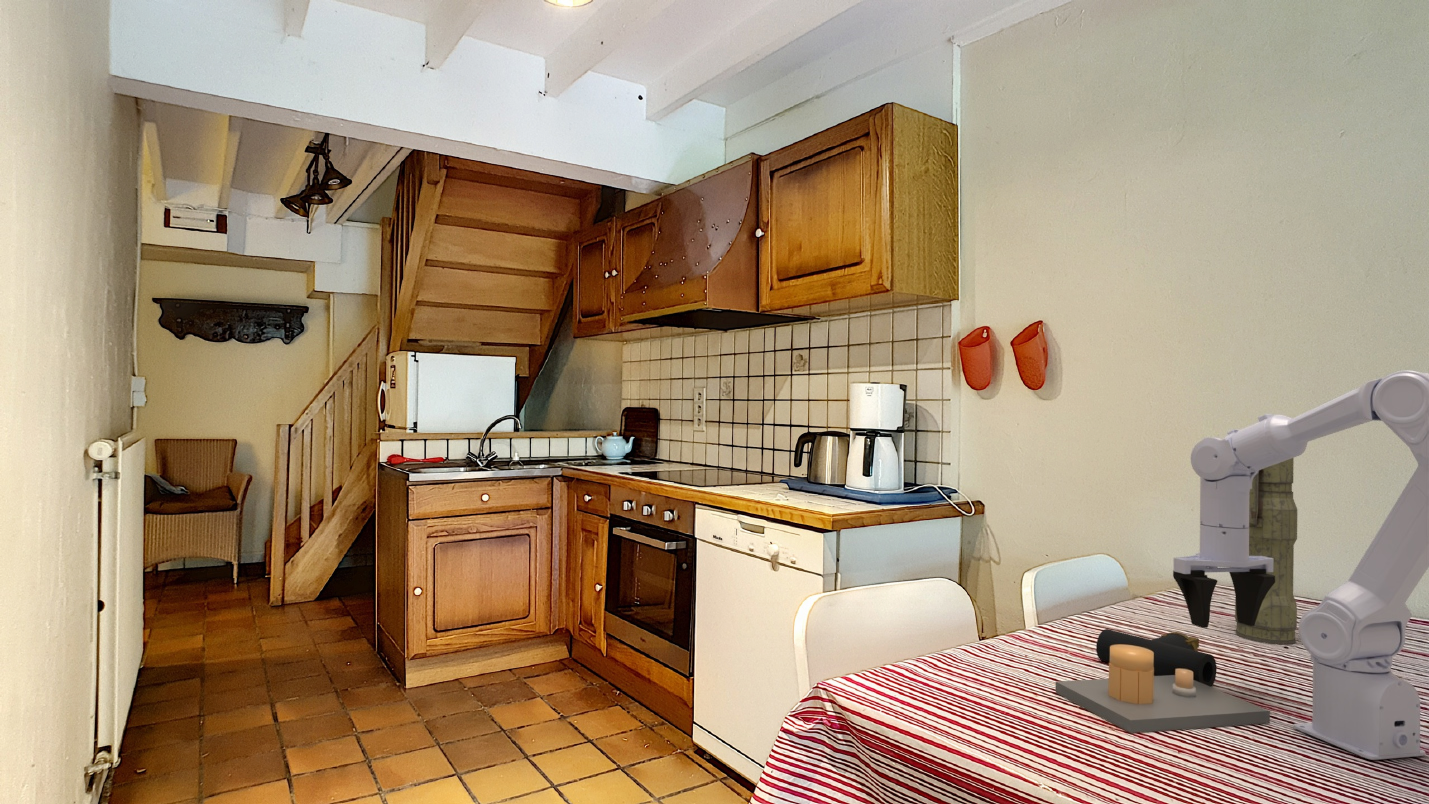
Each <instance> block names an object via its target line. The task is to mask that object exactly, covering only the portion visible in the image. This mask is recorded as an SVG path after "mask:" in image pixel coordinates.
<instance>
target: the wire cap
mask: <svg viewBox="0 0 1429 804" xmlns="http://www.w3.org/2000/svg"><path fill="white" fill-rule="evenodd" d="M1108 679H1109V696H1111V697H1113V698H1115V699H1118V700H1121V701H1124V702H1130V703H1135V704H1149V703H1153V699H1154V653H1153V651H1151V650H1149V649H1146V648H1143V647H1138V646H1133V645H1122V644H1119V645H1112V646H1110V663H1108Z"/></svg>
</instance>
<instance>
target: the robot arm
mask: <svg viewBox="0 0 1429 804" xmlns="http://www.w3.org/2000/svg"><path fill="white" fill-rule="evenodd" d="M1257 419H1258V422H1256V423H1253V424H1250V425H1249V426H1246V427H1244V428H1241V429H1238V428H1237V429H1236V428H1235V429H1234V428H1233V429H1230V430H1228V431H1227V435H1225V437H1223V438H1219V437H1215V436H1214V437H1213V436H1208V437H1207V436H1206V437H1204V438H1203V439H1202V440H1200V441H1198V442H1197V443H1195V445H1194V446H1193V448H1192V450H1191V453H1190V464H1191V467H1192V469H1193V471H1194V472H1195V474H1196V475H1197V476H1198V477H1200V481H1199V482H1200V484H1199V485H1200V486H1199V487H1200V491H1199V495H1200V496H1199V552H1196V553H1195V555H1187V556H1180V557H1178V556H1177V557H1173V570H1172V577H1173V579H1174V580H1175V582H1176V584H1177V586H1178V587H1179V589H1180V591H1181V593H1182V595H1183V598H1184V601H1185V603H1186V606H1187V610H1188V615H1189V618H1190V622H1191V625H1193V626H1196V627H1199V628H1202V629H1208V628H1209V624H1210V618H1211V617H1210V616H1211V604H1212V598H1213V594H1214V591H1215V588H1216V585H1217V584H1218V582H1219V581H1218V580H1217V579H1216V578H1212V577H1208V574H1207V573H1229V575H1230V579H1231V583H1232V585H1233V589H1234V595H1235V597H1236V614H1237V620H1238V622H1239V623H1242V624H1245V625H1249V626H1254V625H1255V622H1256V619H1257V616H1258V613H1259V610H1260V607H1261V604H1262V602H1263V600H1264V598H1265V596H1266V594H1267V593H1268V591H1269V590H1270V588H1271V587H1272V586H1273V584H1274V583H1275V576H1274V575H1271V574H1266V572H1273V560H1274V559H1273V558H1269V557H1264V556H1249V492H1250V489H1252V480H1253V478H1254V476H1255V475H1256V474H1257V473H1258V471H1259V470H1261V469H1264V468H1266V467H1269V466H1272V465H1275V464H1278V463H1280V462H1283V461H1286V460H1289V459H1291V458H1297V457H1300V456H1302V455H1303V454H1304V453H1305V451H1306V450H1307V446H1308V443H1309V442H1311V441H1315V440H1317V439H1320V438H1323V437H1326V436H1329V435H1333V434H1336V433H1338V432H1339V433H1340V432H1341V431H1345V430H1347V429H1351V428H1353V427H1356V426H1360V425H1363V424H1366V423H1369V422H1373V421H1379V422H1380V421H1382V423H1383V424H1385V425H1386V426H1387V428H1389V429H1390V430H1391V432H1393V433H1394V434H1395V435H1396V436H1397V437H1398V438H1399V439H1400V440H1401V441H1402V442H1403V443H1404V444H1405V445H1406V446H1407V447H1408V448H1409V449H1410V451H1411V453H1412V455H1413V457H1414V459H1415V460H1416V462H1417V467H1416V469H1415V471H1414V472H1413V474H1412V475H1411V477H1410V478H1409V480H1408V482H1407V483H1406V485H1405V486H1404V488H1403V490H1402V492H1401V494H1400V495H1399V497H1398V498H1397V500H1396V502H1395V503H1394V504H1393V507H1392V509H1391V510H1390V511H1389V513H1388V515H1387V517H1386V518H1385V520H1384V521H1383V523H1382V524H1381V526H1380V528H1379V530H1378V531H1377V533H1376V534H1375V535H1374V537H1373V539H1372V541H1371V542H1370V544H1369V546H1368V547H1367V549H1366V550H1365V552H1364V553H1363V555H1362V557H1361V559H1360V560H1359V562H1358V563H1357V565H1356V567H1355V569H1354V570H1353V572H1352V574H1350V577H1349V579H1348V580H1347V581H1345V582H1344V583H1342V584H1341V585H1340V586H1339V585H1338V587H1336V588H1335V589H1333V590H1332V591H1331V592H1328V593H1327V594H1326V595H1325V596H1324V597H1323V599H1322V600H1321V602H1320V604H1318V605H1317V606H1316V607H1314V608H1312V609H1309V610H1307V611H1306V612H1305V613H1304V614H1303V615H1302V616H1301V618H1300V620H1299V623H1298V626H1297V628H1298V636H1299V640H1300V642H1301V644H1302V645H1303V647H1304V649H1305V650H1306V651H1307V653H1309V654H1310V661H1312V713H1311V714H1312V718H1311V721H1312V722H1302V723H1294V724H1293V725H1292V727H1293V729H1295V730H1298V731H1301V732H1302V733H1304V734H1307V735H1310V736H1312V737H1314V738H1317V739H1320V740H1322V741H1324V742H1326V743H1329V744H1331V745H1333V746H1336V747H1338V748H1340V749H1343V750H1346V751H1348V752H1349V753H1353V754H1356V755H1357V756H1360V757H1362V758H1365V759H1368V760H1370V761H1371V760H1372V761H1374V760H1375V761H1376V760H1387V759H1389V760H1390V759H1397V758H1398V759H1399V758H1401V759H1402V758H1410V757H1411V758H1412V757H1420V756H1421V757H1422V756H1426V751H1425V750H1423V749H1421V699H1420V695H1419V693H1418V691H1417V688H1415V686H1414V685H1413V684H1411V683H1410V682H1408V681H1407V680H1405V679H1401V678H1399V677H1398V676H1397V675H1396V674H1394V673H1393V672H1392V670H1391V669H1392V667H1393V657H1395V656H1396V655H1398V654H1399V653H1400V652H1401V651H1402V650H1403V648H1404V646H1405V643H1406V627H1407V625H1408V623H1409V621H1410V619H1411V618H1412V616H1413V614H1412V612H1411V610H1410V609H1409V608H1408V606H1407V605H1406V603H1407V601H1408V599H1409V598H1410V596H1411V595H1412V593H1413V591H1415V589H1416V587H1417V586H1418V584H1419V583H1420V581H1421V579H1422V578H1423V577H1424V575H1425V574H1426V572H1427V570H1428V569H1429V372H1422V371H1421V372H1420V371H1417V370H1407V369H1405V370H1399V371H1395V372H1392V373H1390V374H1388V375H1386V376H1384V377H1383V378H1380V377H1379V378H1376V379H1372V380H1368V381H1367V382H1365V383H1364V384H1362V385H1360V386H1359V387H1356V388H1355V389H1353V390H1350V391H1348V392H1346V393H1344V394H1342V395H1340V396H1338V397H1335V398H1334V399H1331V400H1329V401H1327V402H1325V403H1323V404H1321V405H1318V406H1316V407H1315V408H1311V409H1309V410H1307V411H1305V412H1304V413H1303V412H1302V413H1301V414H1299V415H1297V416H1295V417H1289V416H1288V415H1284V414H1273V413H1264V414H1262V415H1260V416H1258V417H1257Z"/></svg>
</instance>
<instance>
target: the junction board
mask: <svg viewBox="0 0 1429 804" xmlns="http://www.w3.org/2000/svg"><path fill="white" fill-rule="evenodd" d="M1055 694H1057V695H1059V696H1061V697H1063V698H1065V699H1067V700H1068V701H1070V702H1072V703H1074V704H1076V705H1078V706H1080V707H1081V708H1083V709H1086V710H1087V711H1088V712H1091V713H1092V714H1094V715H1096V716H1098V717H1100V718H1102V719H1104V720H1105V721H1107V722H1109V723H1111V724H1113V725H1114V726H1117V727H1118V728H1120V729H1122V730H1124V731H1126V732H1128V733H1130V734H1135V733H1151V732H1162V731H1165V732H1166V731H1178V730H1191V729H1193V730H1194V729H1203V728H1204V729H1206V728H1219V727H1235V726H1245V725H1247V726H1248V725H1249V726H1250V725H1259V724H1263V725H1264V724H1270V722H1271V720H1270V719H1271V718H1270V717H1271V716H1270V715H1271V711H1270V710H1269V709H1266V708H1263V707H1262V706H1258V705H1256V704H1254V703H1252V702H1249V701H1247V700H1244V699H1241V698H1239V697H1237V696H1234V695H1231V694H1230V693H1227V692H1225V691H1221V690H1219V689H1218V688H1217V689H1216V688H1215V687H1213V686H1212V687H1210V686H1207V685H1205V684H1202V683H1200V682H1197V681H1195V680H1193V671H1191V670H1187V669H1180V668H1179V669H1176V671H1175V675H1167V676H1154V699H1153V703H1149V704H1135V703H1130V702H1124V701H1121V700H1118V699H1115V698H1113V697H1111V696H1109V678H1096V679H1093V678H1092V679H1080V680H1079V679H1078V680H1059V681H1055Z"/></svg>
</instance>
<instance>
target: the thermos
mask: <svg viewBox="0 0 1429 804" xmlns="http://www.w3.org/2000/svg"><path fill="white" fill-rule="evenodd" d="M1294 458H1295V457H1294ZM1294 458H1291V459H1289V460H1286V461H1283V462H1280V463H1278V464H1275V465H1272V466H1269V467H1266V468H1264V469H1261V470H1259V471H1258V473H1257V474H1256V475H1255V476H1254V478H1253V480H1252V489H1250V492H1249V556H1264V557H1269V558H1273V559H1274V560H1273V572H1266V574H1271V575H1274V576H1275V583H1274V584H1273V586H1272V587H1271V588H1270V590H1269V591H1268V593H1267V594H1266V596H1265V598H1264V600H1263V602H1262V604H1261V607H1260V610H1259V613H1258V616H1257V619H1256V622H1255V625H1254V626H1249V625H1245V624H1242V623H1239V622H1238V620H1237V614H1236V596H1235V598H1234V599H1235V601H1234V606H1235V608H1234V619H1235V622H1236V629H1235V635H1237V636H1238V637H1239V638H1242V639H1245V640H1249V641H1254V642H1257V643H1263V644H1268V645H1269V644H1270V645H1271V644H1272V645H1280V646H1281V645H1285V646H1286V645H1287V646H1288V645H1294V644H1295V643H1296V640H1297V639H1296V630H1297V628H1298V626H1297V625H1298V624H1297V623H1298V608H1297V601H1296V598H1295V597H1294V562H1295V561H1294V558H1295V557H1294V556H1295V555H1294V553H1295V552H1294V550H1295V549H1294V547H1295V543H1296V541H1297V540H1298V507H1297V504H1296V503H1295V500H1294V491H1293V484H1294Z"/></svg>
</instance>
